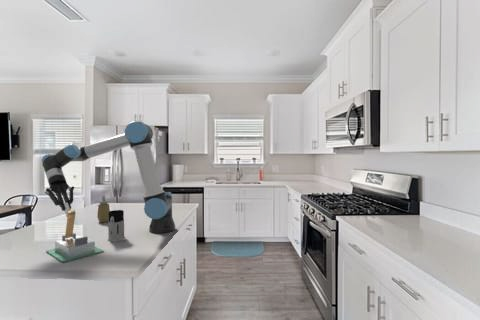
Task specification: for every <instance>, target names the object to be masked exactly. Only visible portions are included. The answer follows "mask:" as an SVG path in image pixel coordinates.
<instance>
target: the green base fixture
mask: <svg viewBox="0 0 480 320" xmlns="http://www.w3.org/2000/svg"><path fill="white" fill-rule="evenodd" d="M95 245H96V242H95V241H93V240H92V239H89V238H88V236H83V235H77V233H75V232H73V237H71V238H65V234H64V235H61V239H57V240H56V239H55V240H54V248H51V249H47V250H45V252H46V253H47V254H49V255H50V256H51V255H52V256H51V257H53V258H54V259H56V260H57V261H59V262H61V263H62V264H64V263H68V262H71V261H72V262H73V261H75V260H80V259H83V258H87V257H90V256H94V255H98V254H102V253H105V250H103V249H101V248H99V247H97V246H95Z"/></svg>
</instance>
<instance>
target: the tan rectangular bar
mask: <svg viewBox="0 0 480 320" xmlns="http://www.w3.org/2000/svg"><path fill="white" fill-rule="evenodd" d="M76 213H77V212H76V211H75V210H70V211H67V214H68V216H67V217H66V218H67V219H66V225H65V226H66V227H65V234H64V235H65V239H66V238H71V237H73V233H74V226H75V219H76Z"/></svg>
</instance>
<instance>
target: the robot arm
mask: <svg viewBox="0 0 480 320" xmlns="http://www.w3.org/2000/svg"><path fill="white" fill-rule="evenodd" d="M153 135H154V131H153V129H152V127H151V126H150V125H148V124H146V123H144V122H142V121H139V120H135V121H131V122H129V123H128V124H127V125H126V126H125V128H124V133H122V134H119V135H116V136H113V137H110V138H105V139H103V140H99V141H96V142H94V143H90V144H88V145H84V146H80V147H78V146H77V145H76V144H74V143H70V144H68V145H66V146H65V147H63V148H62V149H60V150H59V151H58V152H57V153H55V154H54V153H47V154H45V155H43V156H42V158H41V163H42V168H43V170H44V172H45V176H46V178H47V182H48V186H49V187H47V188H46V189H45V192H44V193H45V194H46V195H48V197H49V198H50V200H51V201H52V202H53V204H54V205H55V206H59V207H60V208H61V211H62V212H63V211H64V214H65V216H66V218H67V216H68V214H67V211H72V210H71V209H72V204H73V202H74V190H75V186H70V185H69V184H68V182H67V179H66V177H65V173H64V172H63V169H62V168H63V167H64V166H66V165H68V164H69V163H71V162H84V161H87V160H89V159H92V158H94V157H98V156H102V155H104V154H107V153H111V152H114V151H118V150H120V149H123V148H127V147H129V146H130V149H132V151H134V154H135V157H136V158H135V159H136V162H137V166H138V170H139V173H140V174H139V175H140V178H141V181H142V185H143V189H144V195H143V201H144V207H143V210H144V214H145V215H146V216H147V218H149V219H151V221H150V225H149V228H148V229H149V230H148V231H149V232H150V233H151V234H166V233H170V232H174V231H175V230H176V224H175V221H174V219H173V193H172V192H171V191H165V190H163V189H162V186H161V184H160V179H159V175H158V172H157V167H156V163H155V160H154V156H153V152H152V148H151V147H152V145H153V140H152V139H153ZM67 191H68V192H69V193H68V192H67ZM68 194H69V195H68Z"/></svg>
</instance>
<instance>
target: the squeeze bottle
mask: <svg viewBox="0 0 480 320" xmlns="http://www.w3.org/2000/svg"><path fill="white" fill-rule="evenodd" d="M109 211H111V209H110V204H109V203H108V200H106V196H105V195H102V198H101V200H100V201H99V204H98V206H97V217H96V218H97V219H98V222H99V223H108V220H109V215H108V212H109Z"/></svg>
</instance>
